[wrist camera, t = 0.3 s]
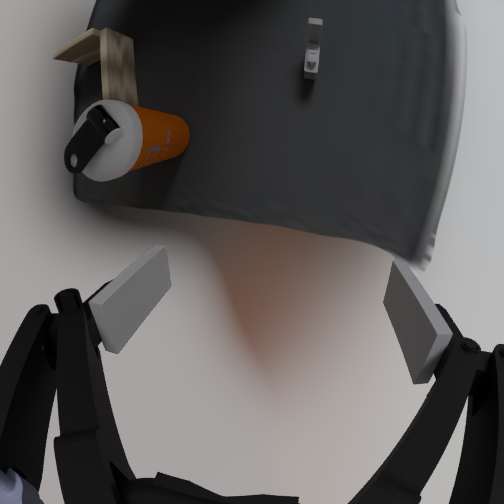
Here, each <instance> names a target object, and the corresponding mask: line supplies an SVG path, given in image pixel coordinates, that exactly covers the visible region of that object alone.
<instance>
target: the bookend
mask: <svg viewBox="0 0 504 504" xmlns="http://www.w3.org/2000/svg"><path fill="white" fill-rule="evenodd" d="M53 59H56V60H62V61H68V62H74V63H79V64H84V65H89V66H90V65H92V64H93V63H95V62H97V61H99V60H101V77H102V92H103V100H119V101H123V102H126V103H127V104H129V105H133V106H138V97H137V87H136V76H135V64H134V48H133V39H131V38H129V37H127V36H125V35H123V34H120V33H118V32H116V31H113V30H111V29H109V28H105V29H103V30H101V31H100V30H97V29H94V28H92V29H90V30H88V31H86V32H85V33H83V34H81V35H80V36H78V37H77V38H75V39H74V40H72V41H70V42H69V43H67V44H66V45H64V46H63V47H61V48H60V49H58V50H57V51H56V52H54V53H53ZM138 107H139V106H138Z"/></svg>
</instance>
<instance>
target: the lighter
mask: <svg viewBox="0 0 504 504" xmlns="http://www.w3.org/2000/svg"><path fill="white" fill-rule="evenodd" d="M322 24H323V20H322V19H316V18H308V31H307V44H308V45H306V56H305V66H304V78H306V79H313V80H315V79H316V76H317V72H318V62H319V50H320V47H319V46H320V41H321V33H322Z"/></svg>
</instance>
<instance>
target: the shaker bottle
mask: <svg viewBox="0 0 504 504" xmlns="http://www.w3.org/2000/svg"><path fill="white" fill-rule="evenodd" d="M189 138H190V132H189V128H188V126H187V124H186V122H185V121H184V120H183V119H182V118H180V117H178V116H176V115H172V114H168V113H164V112H160V111H156V110H151V109H147V108H142V107H138V106H133V105H129V104H127V103H126V102H123V101H119V100H101V101H98V102H96V103H94V104H92V105H91V106H89V107H88V108H87V109H86V110H85V111H84V112H83V114H82V115H81V116H80V118H79V119H78V121H77V123H76V125H75V127H74V130H73V134H72V139H71V140H70V142H69V143H68V145H67V147H66V149H65V154H64V161H65V165H66V168H67V169H68V171H69V172H71V173H73V174H78V173H81V172H83V173H84V175H86V176H87V177H88V178H90V179H92V180H95V181H100V182H101V181H108V180H112V179H116V178H119V177H122V176H123V175H125V174H126V173H128V172H130V171H132V170H135V169H138V168H141V167H144V166H148V165H151V164H154V163H157V162H160V161H163V160H167V159H170V158H174V157H176V156H178V155H180V154H181V153H182V152H183V151H184V150H185V149H186V147H187V145H188V142H189Z"/></svg>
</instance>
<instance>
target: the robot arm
mask: <svg viewBox="0 0 504 504" xmlns="http://www.w3.org/2000/svg"><path fill="white" fill-rule="evenodd" d="M170 287H171V281H170V273H169V266H168V258H167V250H166V246H165V245H154V246H153V247H152V248H150V249H149V250H148V251H147V252H146V253H144V254H143V255H142V256H141V257H140V258H138V259H137V260H136V261H135V262H134V263H132V264H131V265H130V266H129V267H128V268H127V269H125V270H124V271H123V272H122V273H121V274H120V275H118V276H117V277H116V278H115V279H113V280H111V281H109V282H107V283H105V284H104V285H103V286H102V287H101V288H100V289H98V290H97V291H96V292H95V293H94V294H93V295H91V296H90V297H89V298H88V299H87V300H86V301H85V302H84V303H82V300H81V297H80V293H79V291H78V290H77V289H74V288H70V289H65V290H62V291H60V292H59V293H57V294H56V295H55V297H54V300H55V303H56V306H57V309H58V312H59V313H51V312H50V309H49V307H48V305H46V304H41V305H36V306H34V307H33V308H31V309H30V310H29V312H28V313H27V315H26V317H25V318H24V320H23V322H22V324H21V325H20V327H19V329H18V331H17V333H16V335H15V337H14V339H13V341H12V342H11V344H10V347H9V349H8V351H7V353H6V355H5V357H4V359H3V361H2V364H1V366H0V504H44V503H43V501H42V500H41V499H40V497H39V494H38V492H39V488H40V484H41V480H42V473H43V465H44V456H45V447H46V440H47V433H48V428H49V422H50V416H51V411H52V406H53V402H54V397H55V393H56V389H57V401H58V415H59V426H60V436H59V437H55V438H54V452H55V459H56V465H57V471H58V476H59V481H60V486H61V491H62V495H63V499H64V502H65V504H299V503H298V499H299V497H291V496H276V495H265V494H261V495H249V496H231V497H230V496H229V497H225V496H221V495H218V494H216V493H213V492H211V491H209V490H207V489H205V488H203V487H201V486H199V485H197V484H194V483H192V482H190V481H187V480H184V479H180V478H177V477H173V476H169V475H166V474H163V473H160V472H157V475H156V477H155V478H139V479H136V477H135V475H134V473H133V472H132V470H131V468H130V466H129V464H128V461H127V458H126V456H125V452H124V449H123V446H122V443H121V440H120V437H119V433H118V430H117V427H116V423H115V419H114V416H113V412H112V408H111V404H110V400H109V395H108V391H107V387H106V382H105V377H104V372H103V366H102V361H101V355H100V351H99V348H98V345H99V344H100V343H101V341H102V343H103V345H104V348H105V350H106V351H109V352H112V353H116V354H118V353H119V352H120V351H121V350H122V348H123V347H124V345H125V344H126V343H127V342H128V340H129V339H130V338H131V336H132V335H133V334H134V333H135V331H136V330H137V329H138V327H139V326H140V325H141V323H142V322H143V321H144V320H145V318H146V317H147V316H148V315H149V313H150V312H151V311H152V310H153V308H154V307H155V306H156V305H157V303H158V302H159V301H160V299H161V298H162V297H163V296H164V295H165V293H166V292H167V291H168V290H169V288H170ZM383 303H384V306H385V308H386V311H387V313H388V315H389V318H390V320H391V323H392V325H393V328H394V331H395V333H396V336H397V338H398V341H399V344H400V346H401V349H402V352H403V355H404V358H405V361H406V363H407V366H408V369H409V372H410V375H411V378H412V381H413V384H423V383H428V382H429V380H430V379H431V377H432V375H433V373H434V376H435V378H436V381H435V383H434V385H433V386H432V388H431V389H430V391H429V393H428V394H427V397H426V399H425V401H424V403H423V404H422V406H421V408H420V410H419V411H418V413H417V414H416V416H415V418H414V419H413V421H412V423H411V424H410V426H409V427H408V429H407V431H406V432H405V433H404V435H403V436H402V438H401V439H400V441H399V442H398V443H397V445H396V446H395V448H394V449H393V451H392V452H391V453H390V455H389V456H388V457H387V459H386V460H385V461H384V462H383V464H382V465H381V466H380V468H379V469H378V470H377V471H376V473H375V474H374V475H373V476H372V477H371V479H370V480H369V481H368V482H367V483H366V484H365V485H364V487H363V488H362V489H361V490H360V491H359V492H358V493H357V494H356V495H355V497H354V498H353V499H352V500H351V501H350V502H349V503H348V504H419V503H420V501H421V496H420V493H421V491H422V490H423V488H424V486H425V485H426V483H427V481H428V480H429V478H430V476H431V475H432V473H433V471H434V469H435V468H436V466H437V464H438V462H439V460H440V458H441V457H442V455H443V453H444V451H445V448H446V447H447V445H448V443H449V440H450V438H451V436H452V434H453V432H454V430H455V427H456V425H457V423H458V420H459V418H460V415H461V413H462V410H463V408H464V405H465V402H466V399H467V397H468V407H467V418H466V426H465V434H464V440H463V447H462V452H461V457H460V463H459V467H458V472H457V476H456V480H455V484H454V487H453V491H452V495H451V498H450V501H449V504H504V344H498V345H496V347H495V348H494V350H493V352H492V353H490V352H485V351H481V348H480V346H479V345H478V344H477V343H476V342H475V341H474V340H472V339H469V338H464V337H463V336H462V334H461V332H460V331H459V329H458V328H457V326H456V324H455V323H454V322H453V320H452V318H451V317H450V315H449V314H448V312H447V311H446V309H444V308H443V307H442V306H441V305H439V304H434V303H433V301H432V300H431V298H430V297H429V295H428V294H427V292H426V291H425V289H424V288H423V286H422V285H421V283H420V282H419V281H418V279H417V278H416V276H415V275H414V274H413V272H412V271H411V269H410V268H409V267H408V265H407V264H406V263H405V261H393V263H392V267H391V272H390V276H389V281H388V285H387V289H386V293H385V297H384V301H383Z"/></svg>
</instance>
